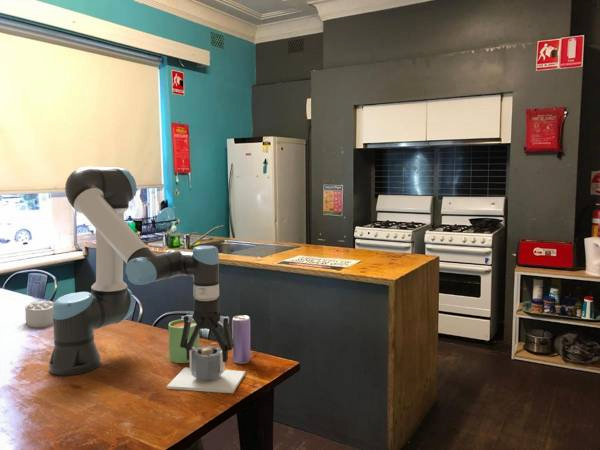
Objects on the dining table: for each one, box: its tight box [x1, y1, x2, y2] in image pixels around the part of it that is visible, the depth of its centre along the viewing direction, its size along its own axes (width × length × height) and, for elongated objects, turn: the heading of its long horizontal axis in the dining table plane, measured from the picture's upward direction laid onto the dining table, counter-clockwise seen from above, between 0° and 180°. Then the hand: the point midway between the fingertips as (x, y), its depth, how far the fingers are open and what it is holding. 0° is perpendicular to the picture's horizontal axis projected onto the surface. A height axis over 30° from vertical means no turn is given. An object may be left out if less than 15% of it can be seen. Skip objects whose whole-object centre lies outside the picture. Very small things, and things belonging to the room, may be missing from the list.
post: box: [202, 348, 213, 381], centre depth 146 cm, size 3×3×9 cm
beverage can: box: [231, 314, 251, 365], centre depth 161 cm, size 6×6×15 cm
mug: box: [168, 318, 201, 364], centre depth 165 cm, size 13×10×12 cm
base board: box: [166, 366, 246, 394], centre depth 146 cm, size 20×14×1 cm
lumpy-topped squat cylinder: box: [25, 300, 54, 328], centre depth 202 cm, size 10×13×9 cm
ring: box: [192, 345, 222, 380], centre depth 146 cm, size 9×9×7 cm
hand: (207, 370), depth 146 cm, fingers closed on ring, 9 cm apart
